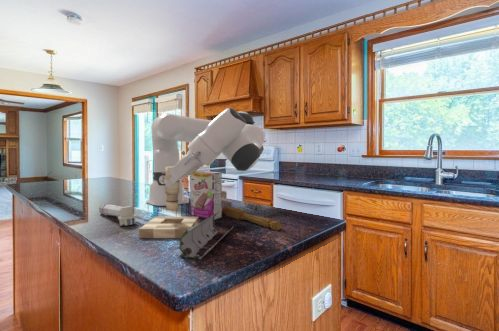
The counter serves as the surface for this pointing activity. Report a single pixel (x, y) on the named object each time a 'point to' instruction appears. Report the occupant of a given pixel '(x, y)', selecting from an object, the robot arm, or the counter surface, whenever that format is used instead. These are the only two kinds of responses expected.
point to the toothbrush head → (119, 213)
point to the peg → (171, 192)
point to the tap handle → (251, 218)
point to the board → (167, 227)
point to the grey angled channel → (198, 238)
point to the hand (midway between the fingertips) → (170, 184)
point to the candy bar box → (206, 194)
